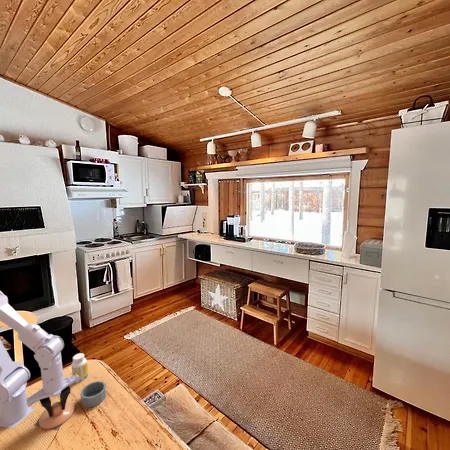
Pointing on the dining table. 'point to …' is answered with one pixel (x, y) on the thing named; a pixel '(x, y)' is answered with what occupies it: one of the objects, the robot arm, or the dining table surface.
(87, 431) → the dining table surface
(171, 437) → the dining table surface
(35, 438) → the dining table surface
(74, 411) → the mat
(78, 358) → the supplement bottle
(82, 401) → the cup
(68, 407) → the lid
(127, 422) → the dining table surface
